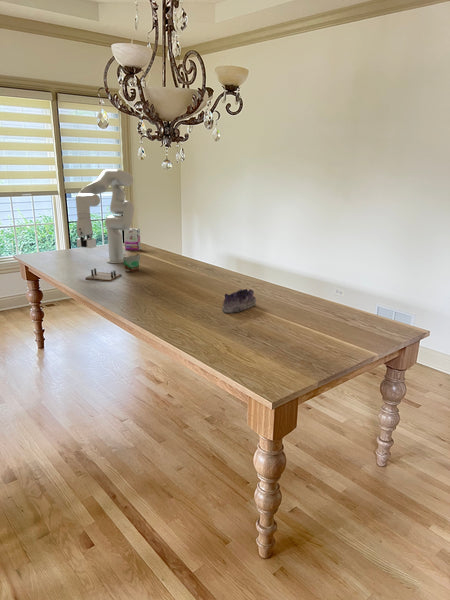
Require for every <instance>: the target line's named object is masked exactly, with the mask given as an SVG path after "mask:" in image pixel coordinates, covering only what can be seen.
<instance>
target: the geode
mask: <svg viewBox="0 0 450 600" xmlns="http://www.w3.org/2000/svg"><path fill="white" fill-rule="evenodd" d="M254 294H255V291H254V289H248V288H245V289H239V290H237V291H235V292H231V293H230V294H228V293H225V294H224V300H223V304H222V312H223V314H226V315H230V314H232V315H233V314H238V313H240V312H242V311H245V310H248V309H250V308H252V307H254V306H256V302H257V300H256V299H257V298H256V297H255V295H254Z"/></svg>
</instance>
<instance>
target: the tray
mask: <svg viewBox="0 0 450 600" xmlns="http://www.w3.org/2000/svg"><path fill="white" fill-rule="evenodd" d="M93 274H94V273H93ZM120 277H122V273H116V276H114V272H113V278H111V272H105V271H104V272H103V271H96V274H94V276H92V275H88V276H86V277H85V280H87V281H96V282H104V283H105V282H109V283H111V282H113V281H115V280H116V279H118V278H120Z"/></svg>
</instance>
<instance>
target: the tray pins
mask: <svg viewBox="0 0 450 600" xmlns="http://www.w3.org/2000/svg"><path fill="white" fill-rule="evenodd" d="M116 271H117V270H115V269H113V270H112V271H110V273H111V278H113V273H114V276H116V274H117V272H116ZM90 272H91V275H92V276H94V274H96V273H97V268H96V267H95V268H94V269H91V270H90Z"/></svg>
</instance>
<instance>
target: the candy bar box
mask: <svg viewBox="0 0 450 600" xmlns="http://www.w3.org/2000/svg"><path fill="white" fill-rule="evenodd" d="M140 229H141V228H131V227H130V229H129V230H123V231H124V232H123V234H124V247H125V248H124V249H125V251H140V250H141V249H142V247H141V233H140V232H141V230H140Z"/></svg>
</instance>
